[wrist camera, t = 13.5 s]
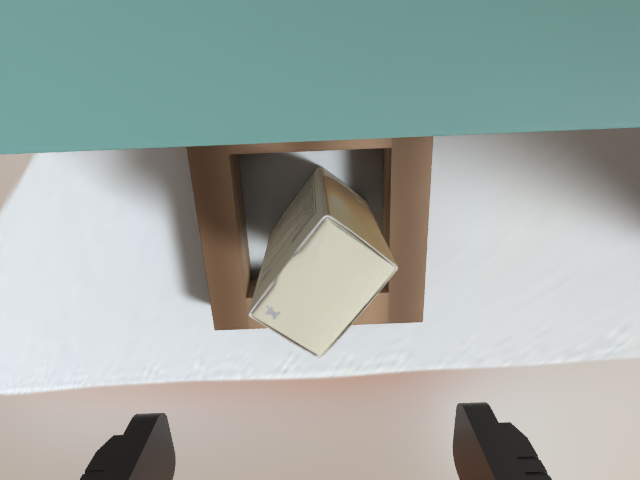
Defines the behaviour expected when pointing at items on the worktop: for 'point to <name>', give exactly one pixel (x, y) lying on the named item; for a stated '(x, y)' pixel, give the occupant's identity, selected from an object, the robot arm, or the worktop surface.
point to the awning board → (309, 70)
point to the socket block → (231, 235)
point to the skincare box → (321, 265)
